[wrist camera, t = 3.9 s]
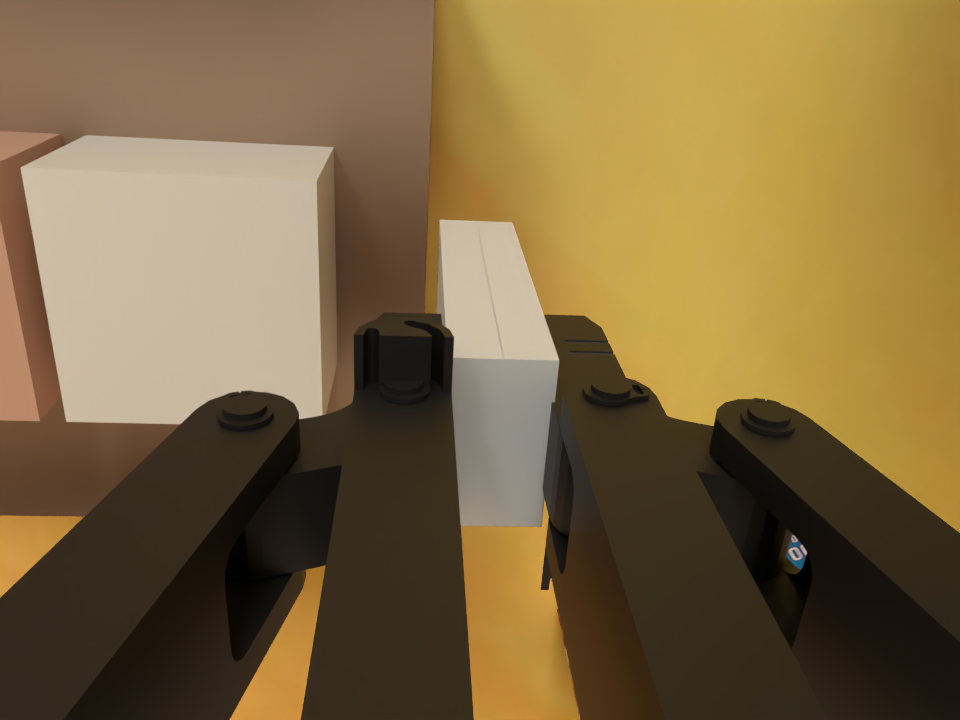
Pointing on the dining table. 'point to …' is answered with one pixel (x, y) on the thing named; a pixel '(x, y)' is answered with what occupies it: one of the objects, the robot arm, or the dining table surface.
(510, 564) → the dining table surface
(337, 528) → the robot arm
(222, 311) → the cream square block
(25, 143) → the terracotta tile
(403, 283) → the brown wooden block
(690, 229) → the dining table surface
